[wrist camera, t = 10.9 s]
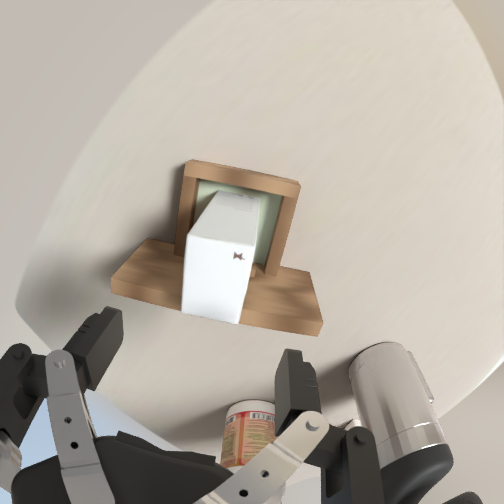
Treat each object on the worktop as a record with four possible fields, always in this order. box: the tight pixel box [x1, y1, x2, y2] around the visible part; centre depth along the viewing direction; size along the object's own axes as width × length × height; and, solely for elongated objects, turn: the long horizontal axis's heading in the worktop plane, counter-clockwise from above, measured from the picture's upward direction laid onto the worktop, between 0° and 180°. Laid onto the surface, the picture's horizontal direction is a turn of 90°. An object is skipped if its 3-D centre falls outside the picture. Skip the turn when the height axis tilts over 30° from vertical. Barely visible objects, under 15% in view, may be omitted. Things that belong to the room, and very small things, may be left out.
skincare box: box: [181, 190, 260, 325], centre depth 23 cm, size 6×4×12 cm
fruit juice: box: [220, 400, 286, 504], centre depth 29 cm, size 9×9×28 cm
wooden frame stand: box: [111, 160, 323, 337], centre depth 25 cm, size 18×11×9 cm, turn 78°
